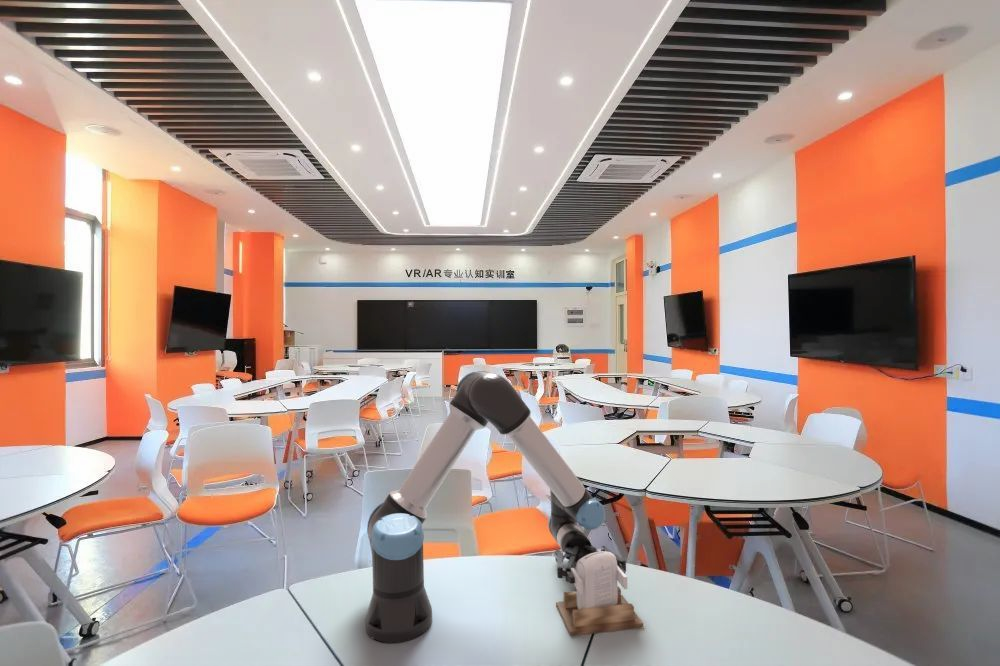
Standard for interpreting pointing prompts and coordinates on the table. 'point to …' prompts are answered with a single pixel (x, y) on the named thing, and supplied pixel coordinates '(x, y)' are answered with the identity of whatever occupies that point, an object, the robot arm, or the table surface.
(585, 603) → the photo printer
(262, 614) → the table surface
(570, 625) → the rack
